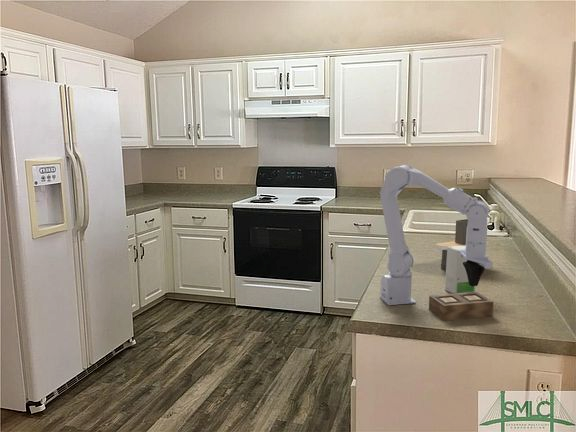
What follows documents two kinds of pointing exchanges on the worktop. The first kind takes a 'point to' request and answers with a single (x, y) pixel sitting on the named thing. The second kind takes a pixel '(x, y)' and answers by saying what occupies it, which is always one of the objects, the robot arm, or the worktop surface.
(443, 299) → the peg
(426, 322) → the worktop surface
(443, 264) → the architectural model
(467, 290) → the skincare box
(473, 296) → the peg
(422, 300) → the worktop surface
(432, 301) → the walnut block
